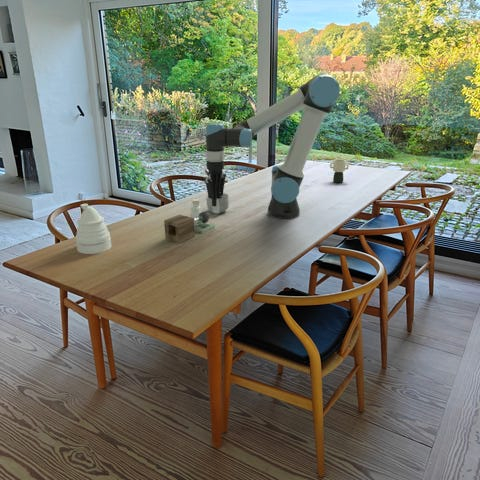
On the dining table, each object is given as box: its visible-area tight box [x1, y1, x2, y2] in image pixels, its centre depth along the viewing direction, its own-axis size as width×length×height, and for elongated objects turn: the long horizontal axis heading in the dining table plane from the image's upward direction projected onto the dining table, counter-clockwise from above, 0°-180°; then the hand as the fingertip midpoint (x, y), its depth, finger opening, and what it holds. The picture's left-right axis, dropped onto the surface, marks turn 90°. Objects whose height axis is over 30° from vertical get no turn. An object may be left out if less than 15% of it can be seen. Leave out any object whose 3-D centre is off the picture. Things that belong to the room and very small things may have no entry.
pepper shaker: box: [190, 198, 203, 218], centre depth 205 cm, size 4×4×10 cm
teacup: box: [205, 192, 230, 214], centre depth 218 cm, size 14×11×8 cm
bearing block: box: [163, 214, 196, 244], centre depth 184 cm, size 8×9×8 cm
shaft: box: [194, 211, 210, 225], centre depth 191 cm, size 5×14×5 cm, turn 145°
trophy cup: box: [329, 158, 350, 183], centre depth 268 cm, size 11×7×13 cm, turn 64°
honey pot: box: [75, 203, 112, 255], centre depth 173 cm, size 13×13×18 cm
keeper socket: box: [194, 222, 215, 234], centre depth 195 cm, size 8×8×1 cm
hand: (216, 212), depth 202 cm, fingers closed
